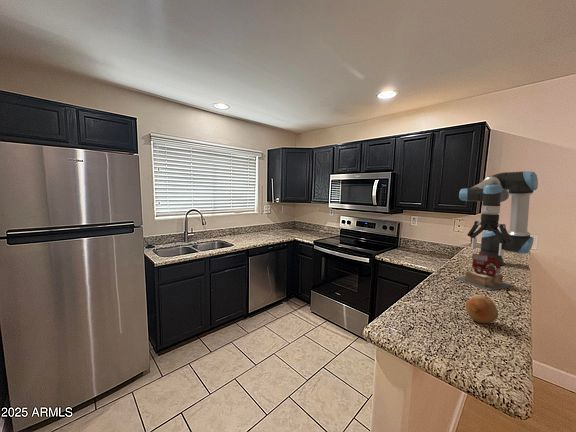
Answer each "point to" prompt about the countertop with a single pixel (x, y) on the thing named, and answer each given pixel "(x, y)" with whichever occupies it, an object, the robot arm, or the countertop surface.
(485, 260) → the toy fire truck
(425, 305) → the countertop surface
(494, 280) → the plinth
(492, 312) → the onion
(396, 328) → the countertop surface
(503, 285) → the build mat
